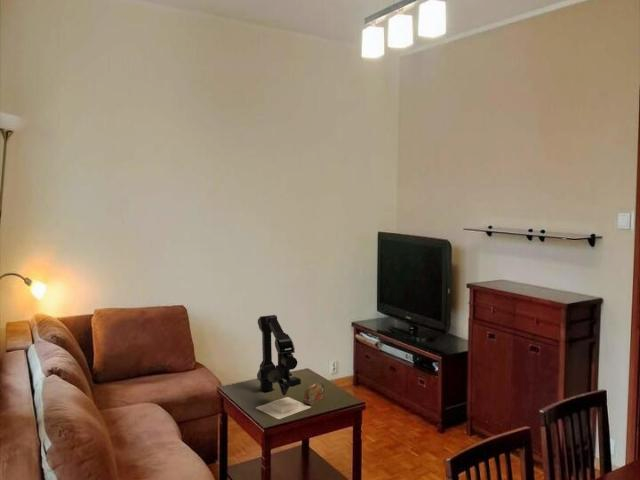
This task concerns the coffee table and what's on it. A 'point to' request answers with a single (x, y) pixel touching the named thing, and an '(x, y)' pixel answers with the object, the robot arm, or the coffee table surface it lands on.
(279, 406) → the tile
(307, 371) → the coffee table surface
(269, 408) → the felt mat
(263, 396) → the coffee table surface
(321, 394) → the tin
